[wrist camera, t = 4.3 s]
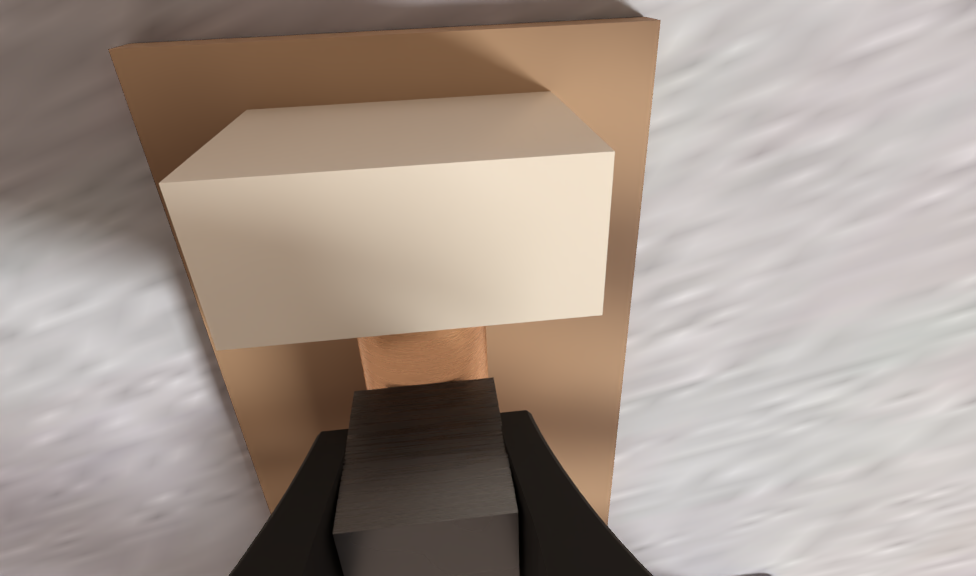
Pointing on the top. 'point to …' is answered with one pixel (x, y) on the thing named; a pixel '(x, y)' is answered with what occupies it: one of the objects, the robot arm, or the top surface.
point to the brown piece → (426, 462)
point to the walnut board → (407, 76)
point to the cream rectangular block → (394, 218)
